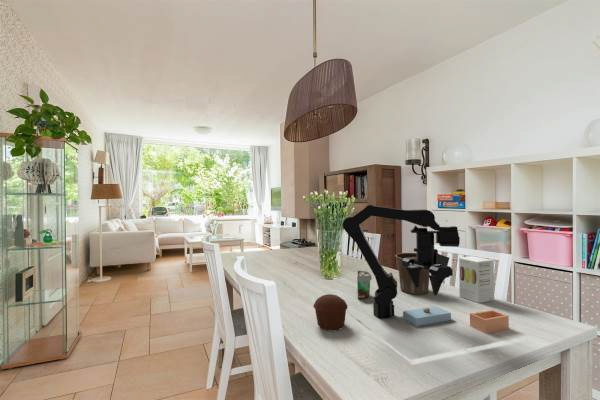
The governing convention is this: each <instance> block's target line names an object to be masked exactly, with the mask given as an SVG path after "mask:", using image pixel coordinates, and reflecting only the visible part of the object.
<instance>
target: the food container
mask: <svg viewBox="0 0 600 400" xmlns="http://www.w3.org/2000/svg"><path fill="white" fill-rule="evenodd" d="M356 279H357V300H368V299H369V298H370V293H371V292H370V291H371V280H372V279H373V278H372V274H371V273H370V272H368V271H367V270H366V271H365V270H357V277H356Z"/></svg>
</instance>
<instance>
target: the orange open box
mask: <svg viewBox="0 0 600 400" xmlns="http://www.w3.org/2000/svg"><path fill="white" fill-rule="evenodd" d="M509 318H510V317H509V315H507V314H506V313H502V312H499V311H496V310H494V309H491V310H489V309H488V310H484V311H476V312H471V313H469V326H470V327H471V328H473V329H475V330H478V331H480V332H482V333H483V334H488V333H493V332H497V331H503V330H508V329H510V323H509V322H510V321H509Z"/></svg>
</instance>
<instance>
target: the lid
mask: <svg viewBox="0 0 600 400" xmlns="http://www.w3.org/2000/svg"><path fill="white" fill-rule="evenodd" d="M402 316H403V318H404V319H405V320H407V321H409V322H410V323H412V324H414V325H415V326H420V325H426V324H432V323H437V322H443V321H449V320H451V319H452V313H451V312H450V311H448V310H445V309H443V308H442V307H440V306H437V305H434V306H428V307H420V308H415V309H408V310H402Z"/></svg>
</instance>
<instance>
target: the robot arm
mask: <svg viewBox="0 0 600 400" xmlns="http://www.w3.org/2000/svg"><path fill="white" fill-rule="evenodd" d="M371 217H377V218H378V217H379V218H386V219H392V220H399V221H405V222H409V223H411V224H414V226H413V228H412V229H410V230H409V231H410V233H412V234H415V235H416V236H415V237H416V238H415V240H416V241H415V243H416V247H415V248H414V247H413V252H414V253H417V258H416V257H408V258H404V259H403V260H402V265H403V266H406V267H405V269H406V270H407V272H408V274H409V275H410V277H411V279H412V281H413V283H414V285H415V287H416V288H418V287H419V276H420V271H421V269H422V268H424V269H427V270H429V272H430V275H429V283H430V285H431V289H432V293H433V295H434V296H438V294H439V291H440V289H441V287H442V284H443V282H444V280H445V279H446V278H447V279H448V278H450V277H452V276H454V275H453V274H454V272H453V268H452V267H451V266H450V265H449V262H450V257H449V256H445V255H443V254H441V253H439V251H438V249H436V248H435V243H436V244H439V247H449V248H450V247H451V248H452V247H453V248H454V247H455V248H456V247H457V248H458V247H460V241H461V238H460V236H459V235H460V234H459V231H458V226H453V225H452V226H451V225H450V226H440V224H438V222H436V216H435V214H434V212H432V211H431V210H428V209H425V208H424V209H402V208H401V209H399V208H393V207H385V206H379V205H373V204H368V205H366V206H365V207H364V208H363V209H362V210H360V211H359V212H358V213H356V214H355V215H350V216H348V217H346V218H344V220H343V222H342V228H343V230H344V231H345V233H346V234H347V235H348V236H349V237H350V239H352V240H353V241H354V242H355V244H356V245H357V247H358V249H359V250H360V252H361V254H362V256H363V258H364V260H365V261H366V263H367V265H368V267H369V268H370V271H371V272H372V273H373V276H374V279H375V281H376V284H377V287H378V288H377V289H376V290H375V292H374V298H373V300H372V301H373V302H372V305H373V306H372V309H373V316H374V317H375V318H377V319H385V320H386V319H391V318H392V317H394V316H395V305H394V301H393V300H394V299H395V298H396V297H397V295H398V281H397V280H396V279H395V278H394V276H393V273H392V272H389V273H388V272H387V271H386V270H385V269H384V266H382V264H381V261H380V260H379V258H378V256H377V255H376V253H375V251H374V250H373V248H372V246H371V245H370V243H369V241H368V239H367V238H366V235H365V232H364V229H363V226H362V224H363V223H364V222H365V221H366V220H368V219H369V218H371ZM417 225H418V226H420V227H417ZM428 227H429V228H430V229H432V230H428ZM427 266H428V267H427Z"/></svg>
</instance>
